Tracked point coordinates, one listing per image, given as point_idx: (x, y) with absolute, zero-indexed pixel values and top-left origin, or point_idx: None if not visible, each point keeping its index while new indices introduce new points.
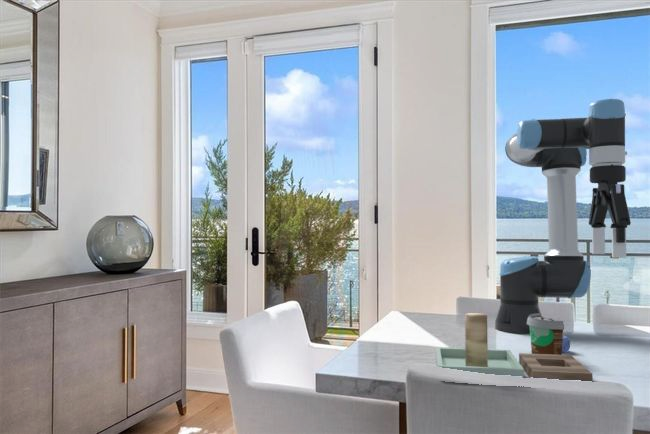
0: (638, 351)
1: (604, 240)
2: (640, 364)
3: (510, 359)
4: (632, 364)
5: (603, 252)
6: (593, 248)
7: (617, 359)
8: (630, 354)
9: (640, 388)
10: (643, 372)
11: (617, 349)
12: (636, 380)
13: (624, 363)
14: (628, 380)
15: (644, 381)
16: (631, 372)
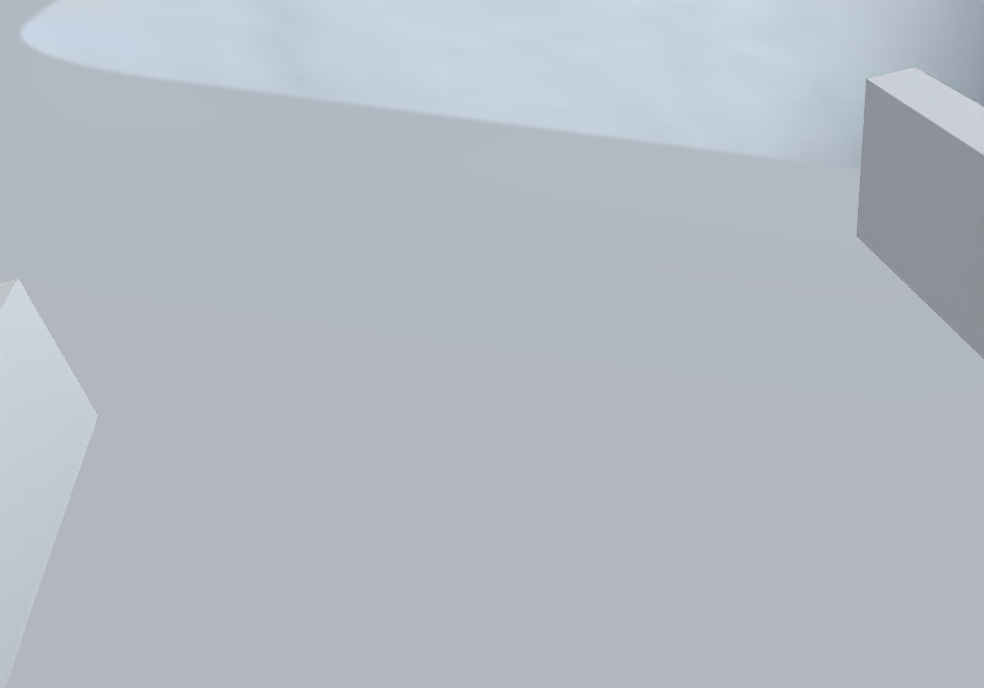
0: (844, 139)
1: (973, 345)
2: (553, 111)
3: None
4: (540, 72)
5: (866, 227)
6: (918, 113)
7: (635, 8)
8: (768, 91)
9: (40, 46)
10: (384, 103)
11: (881, 37)
12: (197, 48)
13: (550, 34)
14: (174, 7)
15: (197, 83)
16: (359, 45)
